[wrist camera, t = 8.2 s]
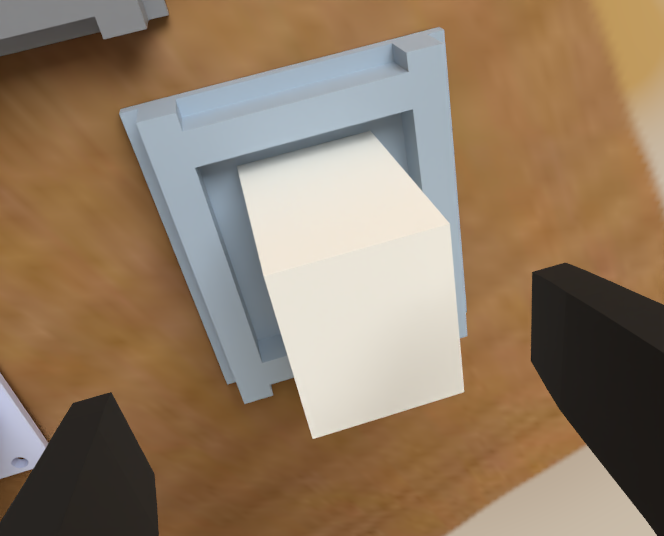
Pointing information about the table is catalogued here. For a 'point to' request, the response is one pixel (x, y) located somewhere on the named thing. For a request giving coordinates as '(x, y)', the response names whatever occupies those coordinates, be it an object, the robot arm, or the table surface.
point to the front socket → (71, 20)
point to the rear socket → (274, 139)
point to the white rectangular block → (356, 280)
